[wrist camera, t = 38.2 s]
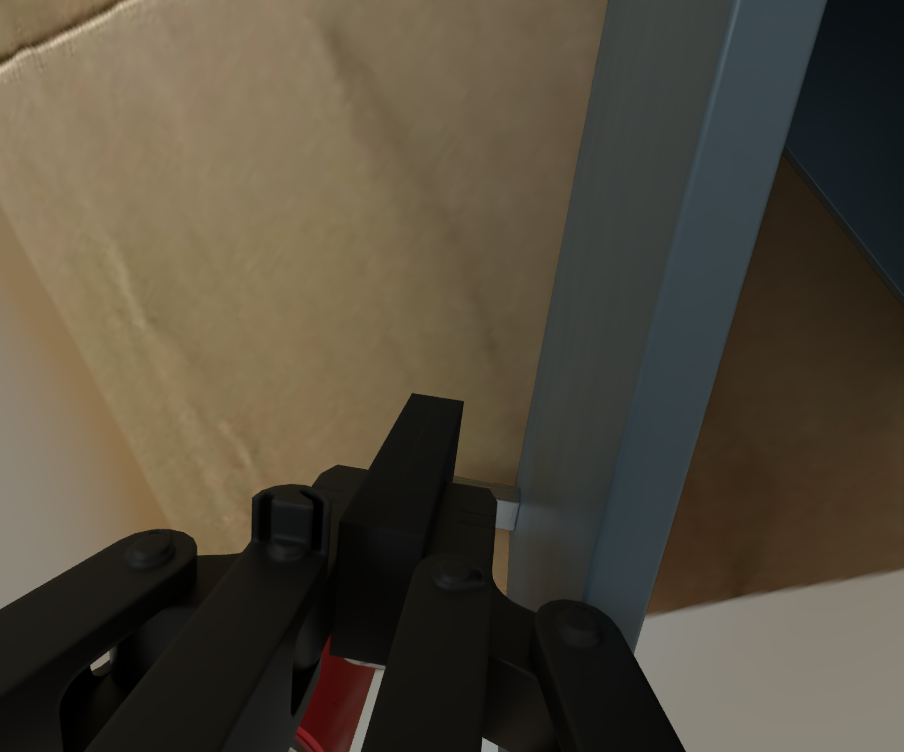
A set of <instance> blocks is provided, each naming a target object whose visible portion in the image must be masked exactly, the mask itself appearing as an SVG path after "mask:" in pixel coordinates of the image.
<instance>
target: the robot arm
mask: <svg viewBox="0 0 904 752" xmlns="http://www.w3.org/2000/svg"><path fill="white" fill-rule="evenodd" d="M463 405H464V401H459V400H452V399H446V398H440V397H434V396H427V395H421V394H415V393H412V394H411V396H410V398H409V399H408V401H407V403H406V405H405V406H404V408H403V410H402V412H401V413H400V415H399V417H398V419H397V421H396V422H395V424H394V426H393V428H392V429H391V431H390V433H389V435H388V436H387V438H386V440H385V442H384V443H383V445H382V447H381V449H380V450H379V452H378V454H377V456H376V457H375V459H374V461H373V463H372V464H371V466H370V468H369V470H366V469H360V468H354V467H348V466H343V465H336V466H334V467H332V468H330V469H328V470H327V471H325V472H323V473H321V474H320V476H319V477H318V478H317V480H316V481H315V482H314V484H313V485H312V487H310V486H307V485H296V484H287V485H279V486H274V487H271V488H268V489H265V490H262V491H261V492H259V493H258V494H256V495H255V496H254V497H252V534H251V542H250V543H249V544H248V546H247V547H246V548H245V549H244V551H243V552H242V553H237V554H227V555H200V556H197V545H196V543H195V541H194V539H193V538H192V537H191V536H189V535H187V534H186V533H184V532H180V531H176V530H171V529H155V530H148V531H144V532H139V533H135V534H133V535H130V536H128V537H126V538H123V539H121V540H119V541H117V542H116V543H114V544H112V545H110V546H109V547H107V548H105V549H103V550H102V551H100V552H98V553H97V554H95V555H93V556H91V557H90V558H88V559H86V560H85V561H83V562H81V563H79V564H78V565H76V566H74V567H72V568H71V569H69V570H67V571H66V572H64V573H62V574H61V575H59V576H57V577H55V578H53V579H52V580H50V581H48V582H47V583H45V584H43V585H41V586H40V587H38V588H36V589H34V590H33V591H31V592H29V593H28V594H26V595H24V596H22V597H21V598H19V599H17V600H16V601H14V602H12V603H10V604H9V605H7V606H5V607H3V608H2V609H0V752H288V751H289V749H290V747H291V744H292V742H293V740H294V737H295V735H296V733H297V730H298V728H299V725H300V723H301V721H302V718H303V716H304V714H305V711H306V709H307V707H308V704H309V702H310V700H311V697H312V695H313V692H314V690H315V688H316V685H317V683H318V681H319V677H320V671H321V661H322V652H323V649H324V647H325V645H326V643H327V640H328V638H329V636H330V634H331V636H330V649H329V655H331V656H336V657H341V658H346V659H351V660H356V661H362V662H366V663H372V664H377V665H382V666H386V667H385V671H384V674H383V678H382V681H381V685H380V688H379V691H378V695H377V698H376V702H375V705H374V708H373V712H372V715H371V719H370V722H369V726H368V729H367V732H366V736H365V739H364V743H363V746H362V749H361V752H481V747H482V737H483V738H485V739H487V740H488V741H490V742H492V743H494V744H496V745H498V746H500V747H502V748H503V749H505V750H507V751H508V752H686V751H685V749H684V747H683V745H682V744H681V742H680V740H679V738H678V736H677V734H676V732H675V731H674V729H673V727H672V725H671V723H670V721H669V720H668V718H667V716H666V714H665V712H664V711H663V708H662V707H661V705H660V703H659V701H658V699H657V697H656V695H655V694H654V692H653V690H652V688H651V686H650V685H649V683H648V681H647V679H646V677H645V675H644V673H643V672H642V670H641V668H640V666H639V664H638V662H637V660H636V658H635V657H634V655H633V653H632V651H631V649H630V647H629V646H628V644H627V642H626V640H625V638H624V636H623V634H622V633H621V631H620V629H619V628H618V627H617V625H616V624H615V623H614V622H613V620H612V619H611V618H610V617H609V616H607V615H606V614H605V613H603V612H602V611H600V610H599V609H598V608H596V607H593V606H591V605H588V604H586V603H583V602H581V601H575V600H568V599H561V600H553V601H549V602H548V603H546V604H544V605H542V606H541V607H540V608H539V609H538V611H537V613H536V612H534V611H531V610H529V609H527V608H524V607H522V606H520V605H518V604H517V603H515V602H513V601H511V600H510V599H509V598H507V597H506V596H505V595H504V594H503V593H502V592H501V591H500V590H499V589H498V588H497V586H496V584H495V582H494V580H493V576H492V565H493V553H494V540H495V527H496V516H497V504H498V502H497V500H496V498H495V497H494V495H493V494H492V492H491V490H490V489H489V488H483V487H477V486H471V485H465V484H459V483H453V476H454V469H455V462H456V455H457V448H458V441H459V433H460V426H461V419H462V412H463ZM108 651H109V653H110V660H109V661H107V662H106V663H105V664H103V665H102V666H101V667H99V668H97V669H95V670H93V671H91V669H90V665H91V664H92V663H93V662H95V661H96V660H97V659H99V658H100V657H101V656H103V655H104V654H105V653H107V652H108Z"/></svg>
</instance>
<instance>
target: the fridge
mask: <svg viewBox="0 0 904 752" xmlns="http://www.w3.org/2000/svg"><path fill="white" fill-rule="evenodd" d="M782 153H783V155H784V156H785V157H786V158H787V160H788V161H789V162H790V164H791V165H792V166H793V167H794V169H795V170H796V171H797V172H798V174H799V175H800V176H801V177H802V179H803V180H804V181H805V183H806V184H807V185H808V186H809V188H810V189H811V190H812V191H813V193H814V194H815V195H816V196H817V198H818V199H819V200H820V202H821V203H822V204H823V205H824V207H825V208H826V209H827V210H828V212H829V213H830V214H831V215H832V217H833V218H834V219H835V221H836V222H837V223H838V224H839V226H840V227H841V228H842V229H843V231H844V232H845V233H846V234H847V236H848V237H849V238H850V240H851V241H852V242H853V243H854V245H855V246H856V247H857V248H858V250H859V251H860V252H861V254H862V255H863V256H864V257H865V259H866V260H867V261H868V262H869V264H870V265H871V266H872V267H873V269H874V270H875V271H876V273H877V274H878V275H879V276H880V278H881V279H882V280H883V281H884V283H885V284H886V285H887V286H888V288H889V289H890V290H891V292H892V293H893V294H894V295H895V297H896V298H897V299H898V300H899V302H900V303H901V304H902V305H903V307H904V0H827V3H826V6H825V10H824V13H823V17H822V20H821V23H820V27H819V30H818V33H817V37H816V40H815V44H814V47H813V50H812V54H811V57H810V60H809V64H808V67H807V71H806V74H805V77H804V81H803V84H802V87H801V91H800V94H799V98H798V101H797V104H796V108H795V111H794V114H793V118H792V121H791V125H790V128H789V131H788V135H787V138H786V142H785V145H784V148H783V152H782Z"/></svg>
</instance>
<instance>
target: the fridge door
mask: <svg viewBox="0 0 904 752" xmlns="http://www.w3.org/2000/svg"><path fill="white" fill-rule="evenodd" d="M826 3H827V0H608V5H607V11H606V16H605V21H604V26H603V31H602V37H601V42H600V47H599V52H598V58H597V63H596V68H595V73H594V78H593V84H592V89H591V94H590V99H589V104H588V110H587V115H586V120H585V125H584V130H583V136H582V141H581V146H580V151H579V157H578V162H577V167H576V172H575V177H574V183H573V188H572V193H571V198H570V203H569V209H568V214H567V219H566V224H565V229H564V235H563V240H562V245H561V250H560V255H559V261H558V266H557V271H556V276H555V282H554V287H553V292H552V297H551V302H550V308H549V313H548V318H547V323H546V328H545V334H544V339H543V344H542V349H541V354H540V360H539V365H538V370H537V375H536V381H535V386H534V391H533V396H532V401H531V407H530V412H529V417H528V422H527V427H526V433H525V438H524V443H523V448H522V453H521V459H520V464H519V469H518V474H517V480H516V485H515V487H512V486H506V485H501V484H495V483H490V482H484V481H479V480H473V479H468V478H462V477H457V476H453V483H459V484H465V485H471V486H477V487H483V488H489V489H490V490H491V492H492V494H493V495H494V497H495V498H496V500H497V502H498V504H497V516H496V527H495V528H499V529H504V530H510V540H509V558H508V577H507V595H506V597H507V598H509V599H510V600H511V601H513V602H515V603H517V604H518V605H520V606H522V607H524V608H527V609H529V610H531V611H534V612H536V613H537V611H538V609H539V608H540V607H541V606H542V605H544V604H546V603H548V602H549V601H553V600H561V599H568V600H575V601H581V602H583V603H586V604H588V605H591V606H593V607H596V608H598V609H599V610H600V611H602V612H603V613H605V614H606V615H607V616H609V617H610V618H611V619H612V620H613V622H614V623H615V624H616V625H617V627H618V628H619V629H620V631H621V633H622V634H623V636H624V638H625V640H626V642H627V644H628V646H629V647H630V649H631V651H632V653H633V655H634V651H635V648H636V645H637V641H638V637H639V634H640V631H641V627H642V624H643V621H644V618H645V614H646V611H647V608H648V604H649V601H650V597H651V594H652V591H653V587H654V584H655V581H656V577H657V574H658V570H659V567H660V564H661V560H662V557H663V554H664V550H665V547H666V543H667V540H668V537H669V533H670V530H671V527H672V523H673V520H674V516H675V513H676V510H677V506H678V503H679V499H680V496H681V493H682V489H683V486H684V483H685V479H686V476H687V472H688V469H689V466H690V462H691V459H692V456H693V452H694V449H695V445H696V442H697V439H698V435H699V432H700V429H701V425H702V422H703V418H704V415H705V412H706V408H707V405H708V402H709V398H710V395H711V391H712V388H713V385H714V381H715V378H716V375H717V371H718V368H719V364H720V361H721V358H722V354H723V351H724V348H725V344H726V341H727V337H728V334H729V331H730V327H731V324H732V320H733V317H734V314H735V310H736V307H737V304H738V300H739V297H740V293H741V290H742V287H743V283H744V280H745V277H746V273H747V270H748V266H749V263H750V260H751V256H752V253H753V250H754V246H755V243H756V239H757V236H758V233H759V229H760V226H761V223H762V219H763V216H764V212H765V209H766V206H767V202H768V199H769V196H770V192H771V189H772V185H773V182H774V179H775V175H776V172H777V169H778V165H779V162H780V158H781V155H782V152H783V148H784V145H785V142H786V138H787V135H788V131H789V128H790V125H791V121H792V118H793V114H794V111H795V108H796V104H797V101H798V98H799V94H800V91H801V87H802V84H803V81H804V77H805V74H806V71H807V67H808V64H809V60H810V57H811V54H812V50H813V47H814V44H815V40H816V37H817V33H818V30H819V27H820V23H821V20H822V17H823V13H824V10H825V6H826ZM344 659H345V660H346V661H348V662H350V663H352V664H355V665H362V666H366V667H371V668H376V669H381V670H385V667H386V666H382V665H377V664H372V663H366V662H362V661H356V660H351V659H346V658H344ZM498 752H508V751H507V750H505V749H503V748H502V747H500V746H498Z"/></svg>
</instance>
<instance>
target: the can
mask: <svg viewBox="0 0 904 752" xmlns="http://www.w3.org/2000/svg"><path fill="white" fill-rule="evenodd" d="M330 636H331V634H330ZM330 636H329V638H328V640H327V643H326V645H325V647H324V649H323V652H322V661H321V671H320V677H319V681H318V683H317V685H316V688H315V690H314V692H313V695H312V697H311V700H310V702H309V704H308V707H307V709H306V711H305V714H304V716H303V718H302V721H301V723H300V725H299V728H298V730H297V733H296V735H295V737H294V740H293V742H292V744H291V747H290V749H289V751H288V752H349V751H350V747H351V744H352V741H353V738H354V735H355V731H356V729H357V725H358V723H359V719H360V716H361V713H362V710H363V707H364V704H365V701H366V697H367V694H368V691H369V688H370V685H371V682H372V679H373V676H374V673H375V669H376V668H371V667H366V666H362V665H355V664H352V663H350V662H348V661H346V660H345V659H344V658H341V657H336V656H331V655H329V649H330Z"/></svg>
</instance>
